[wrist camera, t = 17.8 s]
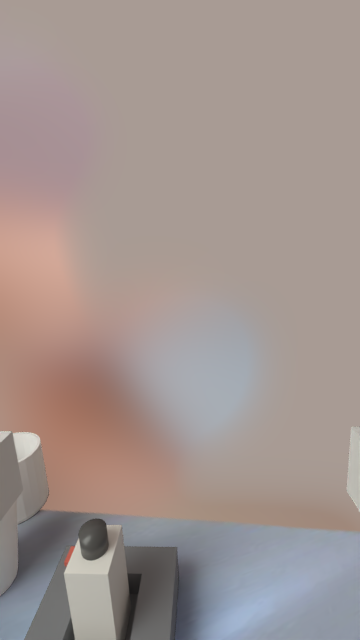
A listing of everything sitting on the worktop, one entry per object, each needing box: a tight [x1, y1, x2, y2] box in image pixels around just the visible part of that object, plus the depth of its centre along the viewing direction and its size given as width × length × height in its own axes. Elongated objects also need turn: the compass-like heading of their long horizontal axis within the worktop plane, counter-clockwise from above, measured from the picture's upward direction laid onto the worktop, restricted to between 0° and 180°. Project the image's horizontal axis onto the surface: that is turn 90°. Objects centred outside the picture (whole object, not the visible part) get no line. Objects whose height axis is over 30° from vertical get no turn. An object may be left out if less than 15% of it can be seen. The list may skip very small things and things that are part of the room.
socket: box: [24, 546, 179, 640], centre depth 32 cm, size 14×14×5 cm
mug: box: [13, 432, 49, 525], centre depth 51 cm, size 13×10×10 cm
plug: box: [64, 519, 131, 640], centre depth 30 cm, size 4×5×13 cm
